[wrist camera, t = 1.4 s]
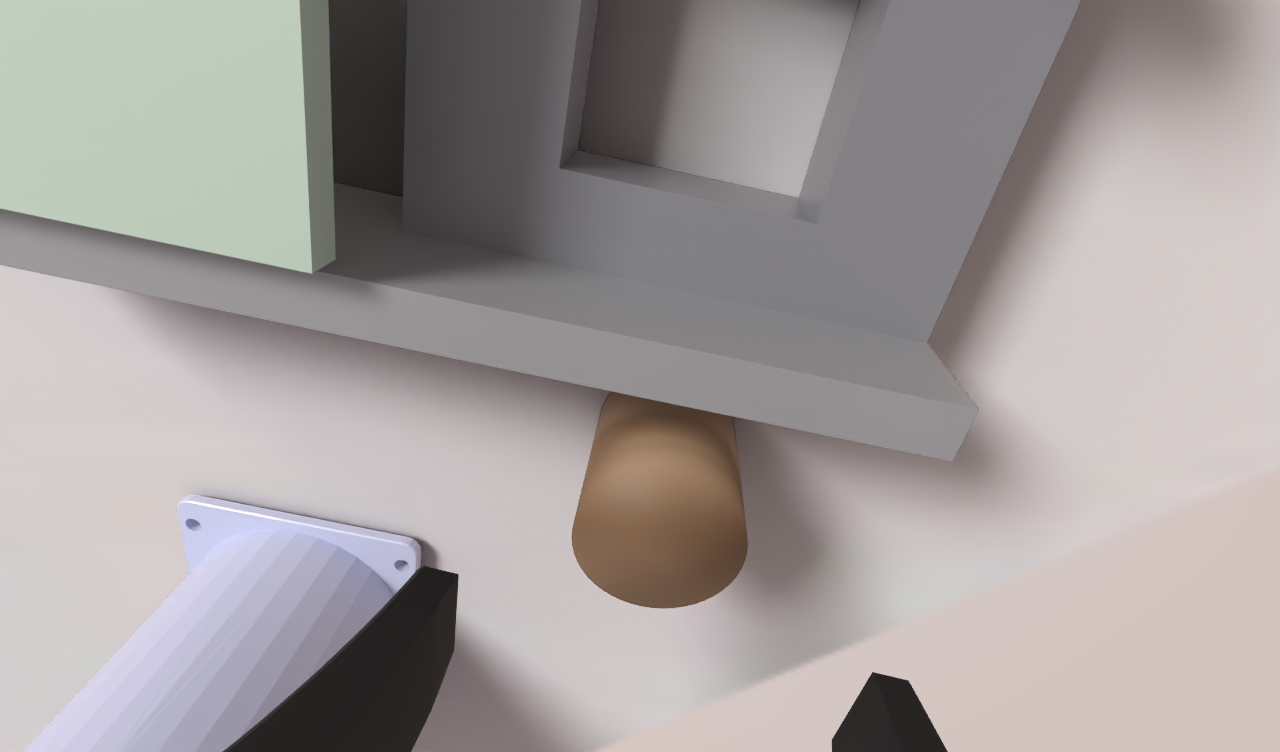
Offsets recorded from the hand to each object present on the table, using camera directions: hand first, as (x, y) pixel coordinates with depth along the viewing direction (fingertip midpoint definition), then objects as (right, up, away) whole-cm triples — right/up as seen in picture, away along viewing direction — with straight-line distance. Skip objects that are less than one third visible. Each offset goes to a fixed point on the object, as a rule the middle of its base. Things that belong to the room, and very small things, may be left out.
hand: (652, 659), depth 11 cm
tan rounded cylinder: (+1, +3, +8) cm, 9 cm away
